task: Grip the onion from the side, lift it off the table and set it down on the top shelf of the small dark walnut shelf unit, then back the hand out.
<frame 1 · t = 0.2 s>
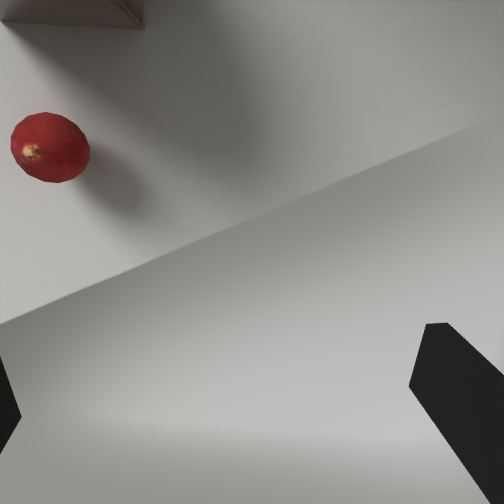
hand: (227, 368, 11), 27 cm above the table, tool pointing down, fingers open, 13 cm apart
onion: (70, 145, 33), on the table
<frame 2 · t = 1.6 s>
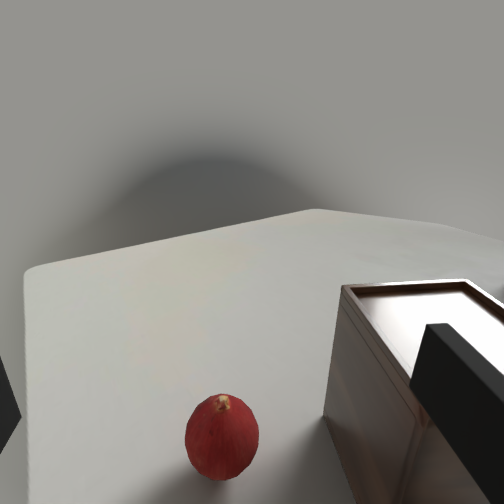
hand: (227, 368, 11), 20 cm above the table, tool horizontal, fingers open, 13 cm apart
onion: (222, 467, 29), on the table
shelf: (408, 467, 29), on the table
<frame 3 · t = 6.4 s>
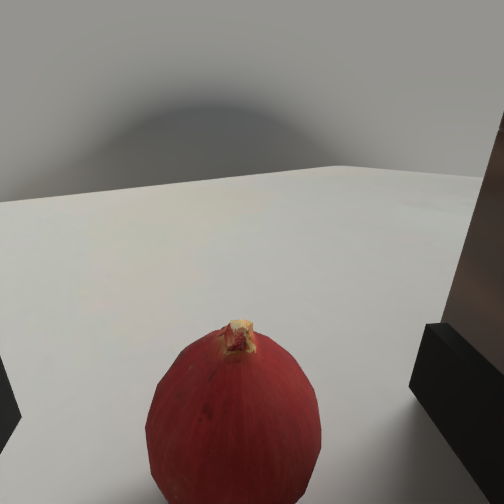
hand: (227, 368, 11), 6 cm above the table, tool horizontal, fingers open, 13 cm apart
onion: (233, 493, 13), on the table
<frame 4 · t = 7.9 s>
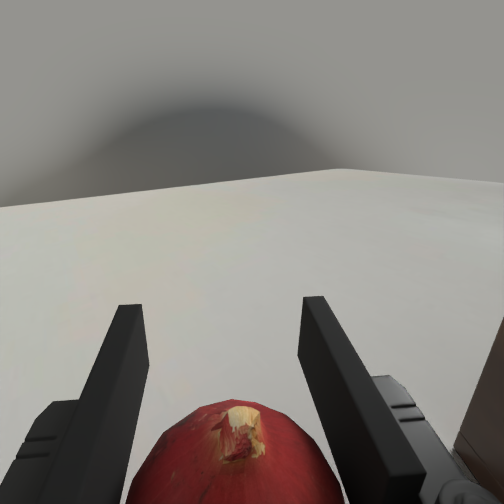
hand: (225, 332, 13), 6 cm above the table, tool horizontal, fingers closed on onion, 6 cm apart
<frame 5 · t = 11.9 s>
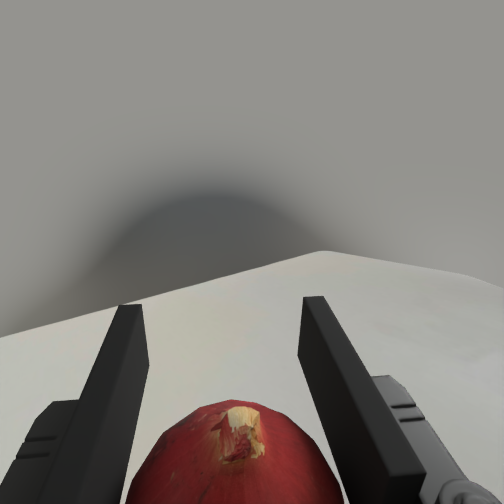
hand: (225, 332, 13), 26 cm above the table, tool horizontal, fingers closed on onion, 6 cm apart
when the fingers open (20 cm above the table, at t = 16.1 s): onion stays where it is, resting on shelf.
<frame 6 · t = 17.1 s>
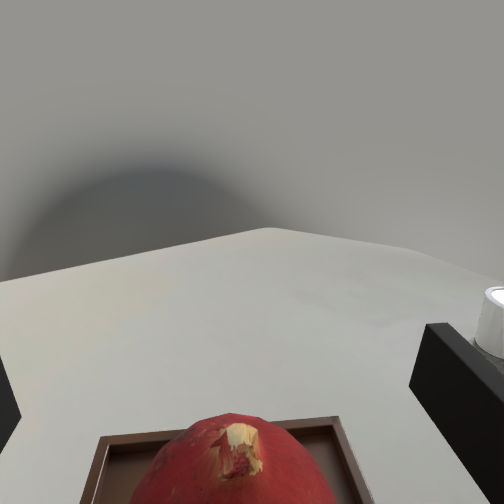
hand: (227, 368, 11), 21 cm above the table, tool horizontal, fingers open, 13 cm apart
shot glass: (499, 347, 44), on the table
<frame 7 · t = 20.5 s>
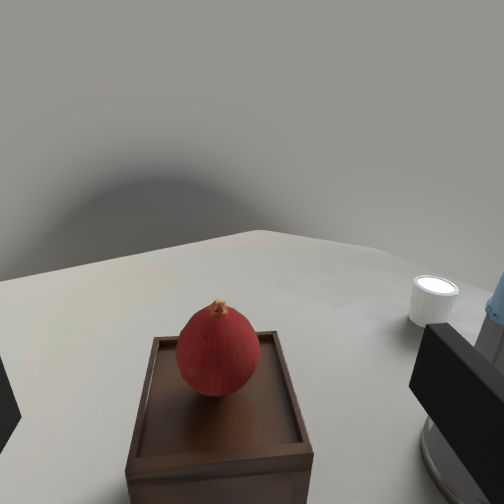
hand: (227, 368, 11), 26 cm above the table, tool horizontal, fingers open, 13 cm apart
onion: (218, 392, 26), point 14 cm above the table, touching shelf
shot glass: (425, 320, 59), on the table
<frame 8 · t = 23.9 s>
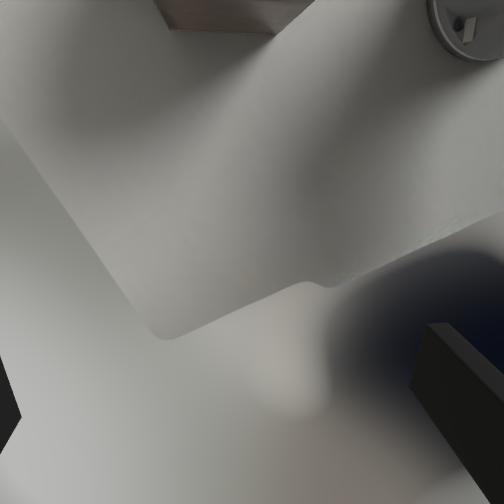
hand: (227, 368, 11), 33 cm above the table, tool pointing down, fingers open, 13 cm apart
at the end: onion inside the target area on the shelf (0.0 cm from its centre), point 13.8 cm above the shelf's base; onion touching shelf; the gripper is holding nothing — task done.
